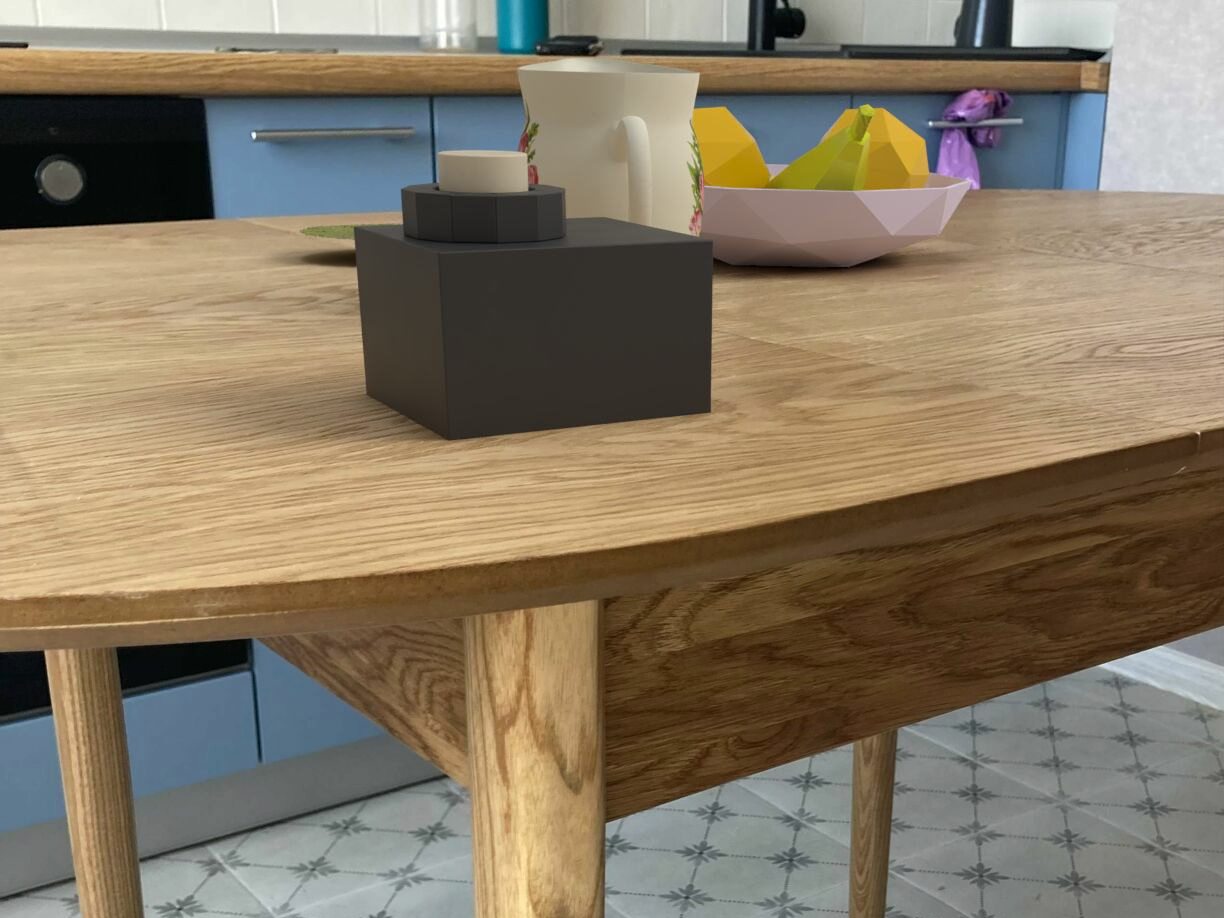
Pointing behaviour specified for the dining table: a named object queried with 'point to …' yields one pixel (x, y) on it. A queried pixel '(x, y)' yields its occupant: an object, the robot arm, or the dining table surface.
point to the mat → (335, 231)
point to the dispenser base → (531, 315)
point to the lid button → (482, 171)
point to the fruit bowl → (820, 193)
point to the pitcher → (615, 140)
